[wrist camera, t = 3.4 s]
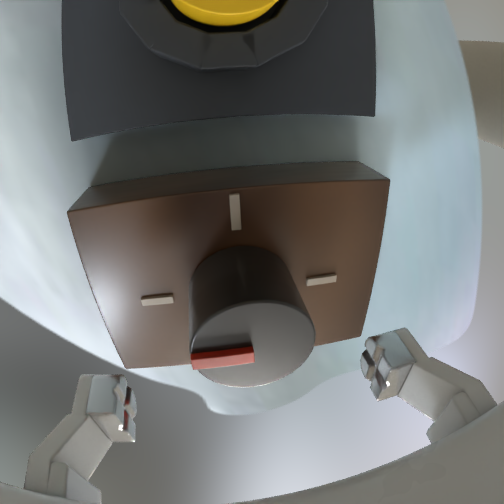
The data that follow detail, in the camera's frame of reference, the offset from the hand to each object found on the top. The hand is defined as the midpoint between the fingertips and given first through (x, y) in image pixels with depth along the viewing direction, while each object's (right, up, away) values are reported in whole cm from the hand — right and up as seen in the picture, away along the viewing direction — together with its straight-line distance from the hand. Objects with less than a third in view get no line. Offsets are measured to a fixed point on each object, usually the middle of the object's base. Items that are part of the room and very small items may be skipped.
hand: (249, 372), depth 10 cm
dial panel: (-1, +4, +6) cm, 7 cm away
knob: (0, +2, +4) cm, 4 cm away
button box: (-1, +14, 0) cm, 14 cm away
